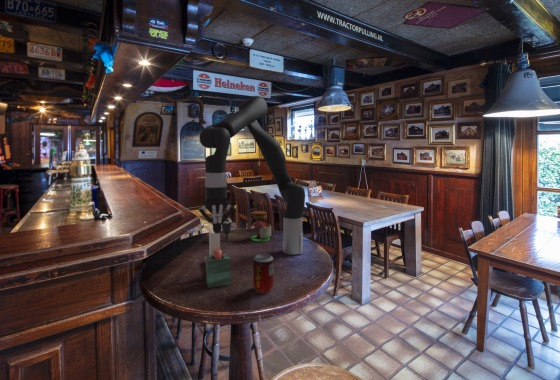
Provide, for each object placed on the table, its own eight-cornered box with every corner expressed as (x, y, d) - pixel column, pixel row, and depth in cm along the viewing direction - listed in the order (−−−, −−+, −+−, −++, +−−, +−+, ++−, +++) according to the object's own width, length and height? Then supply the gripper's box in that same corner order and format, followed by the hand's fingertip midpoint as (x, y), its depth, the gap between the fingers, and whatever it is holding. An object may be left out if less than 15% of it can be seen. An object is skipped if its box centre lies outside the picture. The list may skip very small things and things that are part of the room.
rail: (230, 284, 110) (230, 258, 108) (208, 288, 107) (207, 261, 105) (217, 260, 133) (216, 238, 132) (199, 262, 130) (198, 240, 129)
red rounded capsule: (222, 264, 109) (222, 251, 108) (214, 265, 108) (214, 252, 107) (221, 261, 111) (220, 249, 111) (213, 263, 110) (213, 249, 110)
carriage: (223, 276, 114) (222, 233, 112) (210, 278, 112) (208, 234, 110) (220, 270, 120) (219, 229, 117) (207, 272, 118) (206, 230, 115)
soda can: (275, 286, 108) (275, 253, 107) (270, 295, 101) (270, 260, 100) (257, 284, 110) (256, 252, 108) (250, 293, 103) (250, 259, 101)
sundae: (235, 239, 165) (234, 212, 163) (229, 242, 158) (228, 214, 156) (224, 237, 167) (224, 211, 165) (218, 241, 160) (217, 213, 158)
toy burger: (246, 241, 160) (245, 214, 158) (253, 235, 172) (253, 209, 170) (267, 243, 157) (267, 215, 155) (273, 236, 169) (273, 210, 167)
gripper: (232, 183, 112) (232, 228, 114) (195, 184, 107) (196, 232, 109) (237, 185, 105) (237, 233, 107) (198, 187, 100) (199, 237, 102)
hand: (217, 232), depth 108 cm, fingers closed
